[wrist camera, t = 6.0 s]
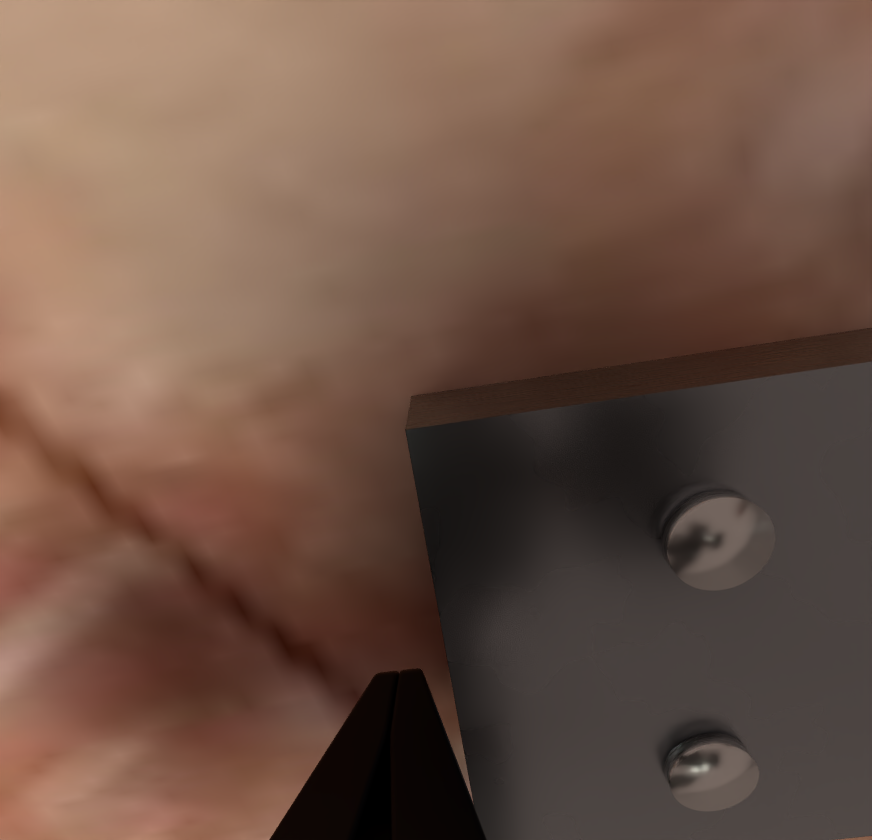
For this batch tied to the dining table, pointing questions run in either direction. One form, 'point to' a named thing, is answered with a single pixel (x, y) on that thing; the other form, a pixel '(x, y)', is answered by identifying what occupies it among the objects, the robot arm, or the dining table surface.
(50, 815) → the dining table surface
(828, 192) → the dining table surface
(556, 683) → the two-screw grey plate
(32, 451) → the dining table surface
